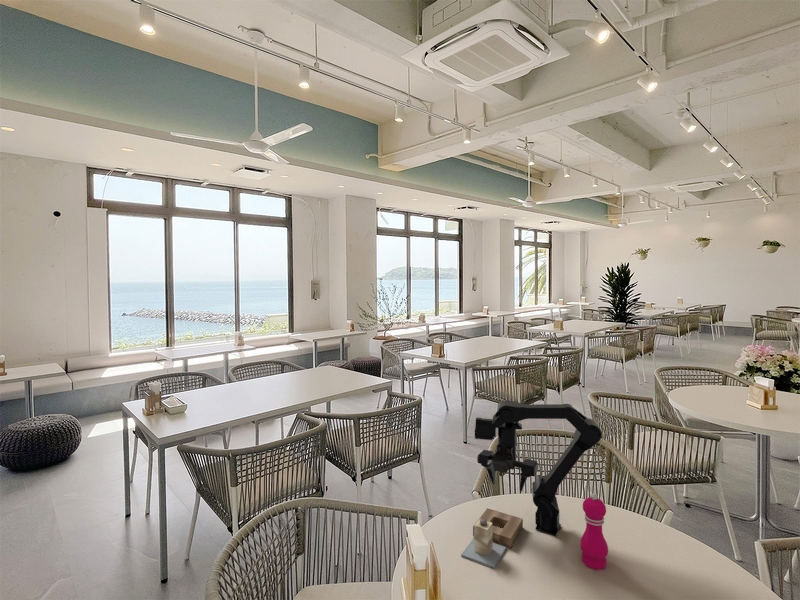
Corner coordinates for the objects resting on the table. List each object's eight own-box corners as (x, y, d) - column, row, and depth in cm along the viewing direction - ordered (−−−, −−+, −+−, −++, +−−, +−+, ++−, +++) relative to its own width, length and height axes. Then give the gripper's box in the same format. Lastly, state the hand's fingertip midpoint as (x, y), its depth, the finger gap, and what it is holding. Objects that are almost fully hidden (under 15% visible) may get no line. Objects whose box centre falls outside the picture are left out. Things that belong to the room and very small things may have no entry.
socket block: (522, 527, 137) (522, 518, 137) (510, 548, 127) (510, 538, 127) (487, 516, 144) (487, 508, 144) (473, 535, 134) (473, 526, 134)
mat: (506, 548, 127) (506, 546, 127) (494, 568, 119) (494, 566, 119) (474, 538, 132) (474, 536, 132) (461, 556, 124) (461, 554, 124)
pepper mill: (602, 554, 124) (603, 487, 122) (612, 571, 116) (613, 500, 115) (576, 553, 124) (576, 486, 123) (584, 570, 117) (585, 500, 116)
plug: (492, 548, 126) (492, 519, 126) (487, 556, 123) (487, 526, 122) (479, 544, 128) (479, 515, 128) (474, 551, 125) (474, 522, 125)
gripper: (470, 443, 137) (470, 490, 138) (528, 456, 127) (528, 507, 128) (483, 432, 146) (483, 476, 147) (538, 443, 136) (538, 490, 137)
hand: (507, 487), depth 139 cm, fingers open, 9 cm apart
